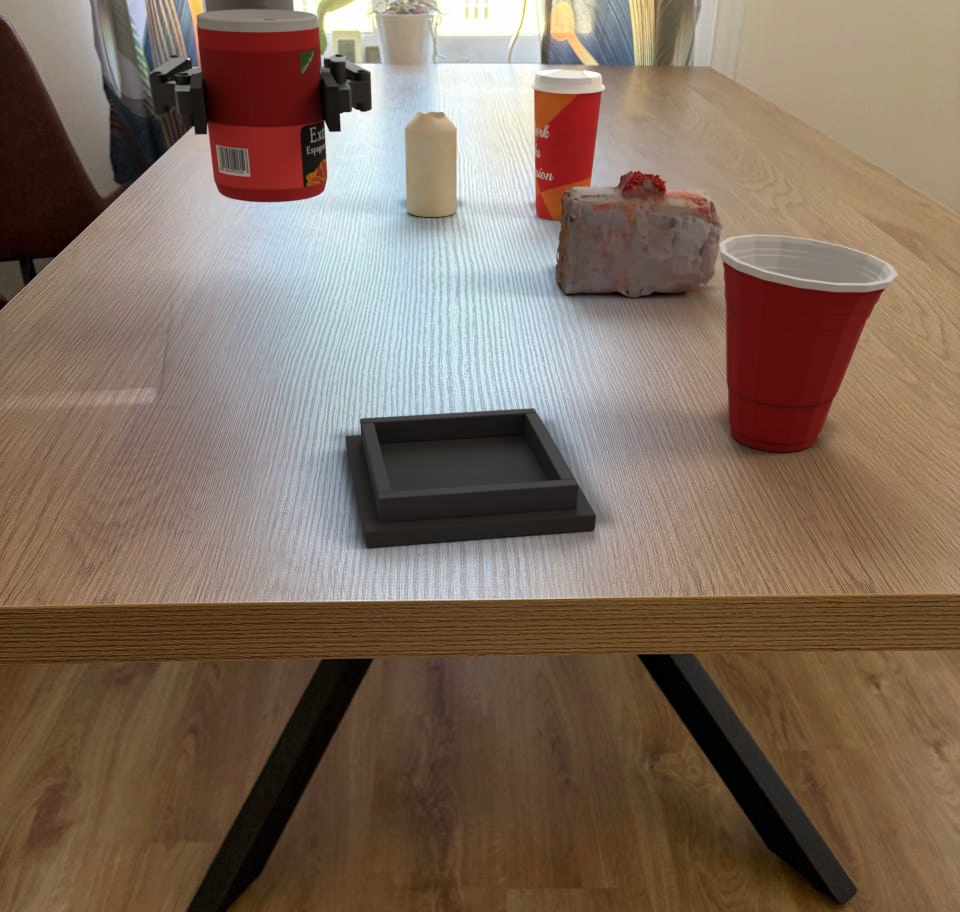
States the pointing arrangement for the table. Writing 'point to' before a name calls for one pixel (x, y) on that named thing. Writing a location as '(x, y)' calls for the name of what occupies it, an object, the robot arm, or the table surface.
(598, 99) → the paper cup
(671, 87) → the table surface
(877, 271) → the plastic cup
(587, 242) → the food item
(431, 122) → the candle
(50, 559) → the table surface
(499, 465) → the base pad
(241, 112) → the canned food
